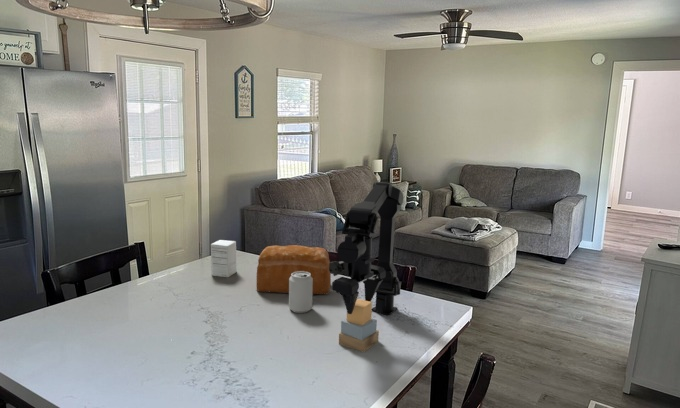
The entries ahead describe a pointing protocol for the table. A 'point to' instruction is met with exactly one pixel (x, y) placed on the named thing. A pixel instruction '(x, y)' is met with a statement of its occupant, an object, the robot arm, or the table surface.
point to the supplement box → (223, 258)
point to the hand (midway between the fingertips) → (358, 308)
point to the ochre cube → (360, 312)
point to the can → (300, 291)
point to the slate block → (358, 329)
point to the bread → (292, 268)
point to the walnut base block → (358, 341)
